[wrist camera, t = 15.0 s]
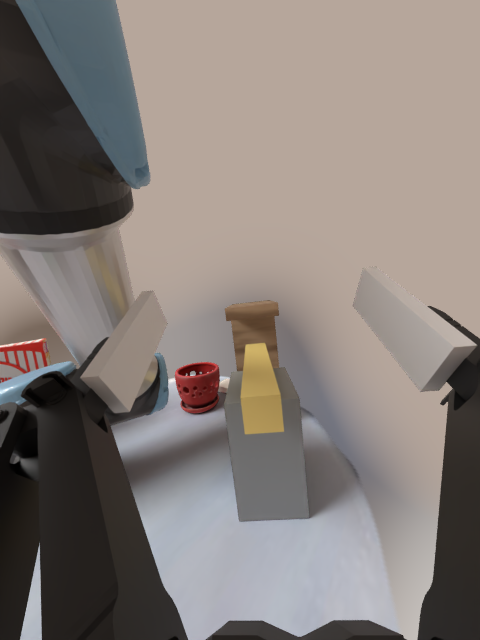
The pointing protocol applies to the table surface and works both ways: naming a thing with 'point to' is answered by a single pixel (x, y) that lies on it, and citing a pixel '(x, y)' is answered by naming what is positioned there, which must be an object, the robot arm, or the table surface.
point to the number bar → (260, 393)
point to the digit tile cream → (223, 385)
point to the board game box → (23, 358)
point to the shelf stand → (253, 328)
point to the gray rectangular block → (267, 458)
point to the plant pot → (198, 386)
